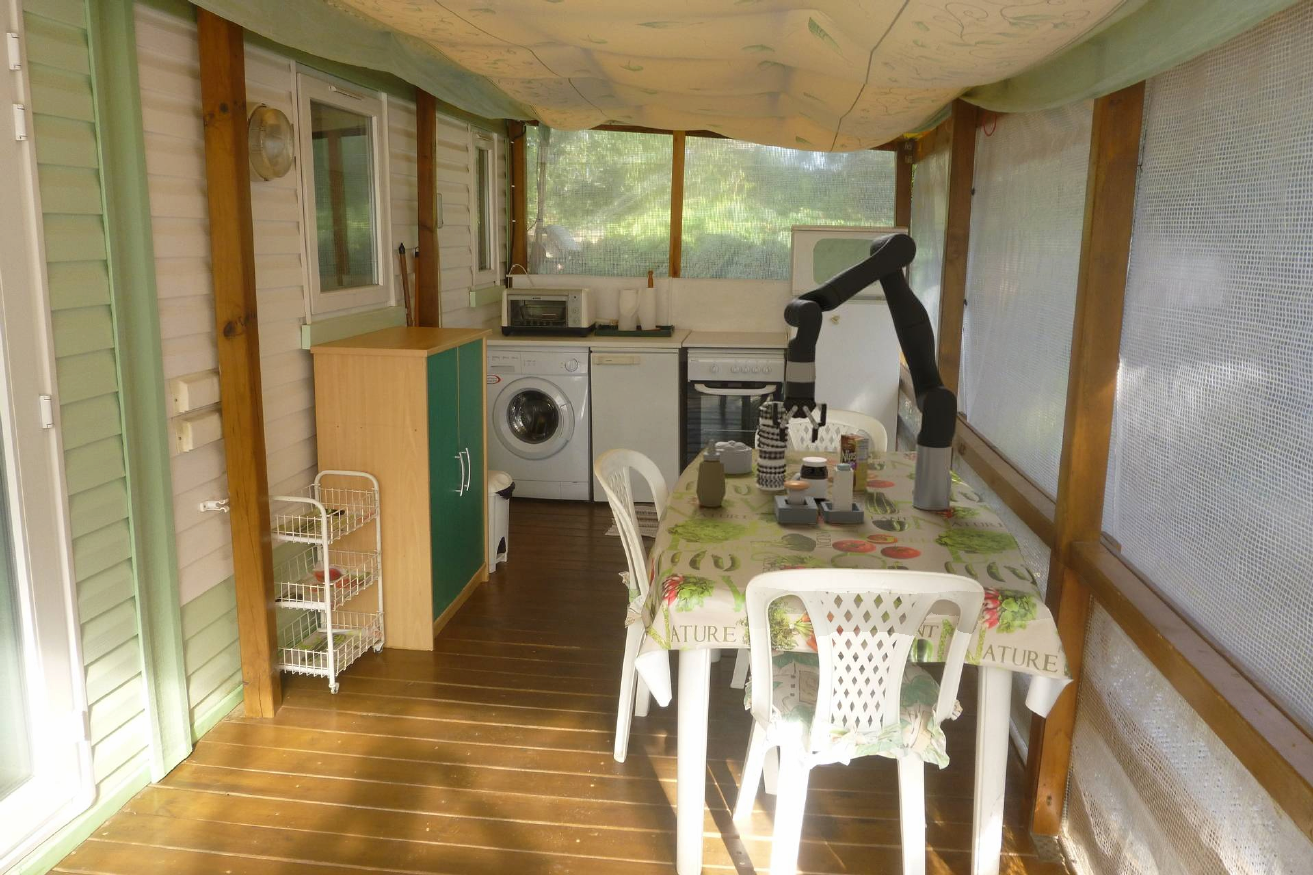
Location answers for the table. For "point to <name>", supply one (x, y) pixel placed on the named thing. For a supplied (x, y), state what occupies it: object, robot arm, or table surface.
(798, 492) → the tan mushroom peg
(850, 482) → the square rod with knob
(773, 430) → the decorative candle
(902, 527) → the table surface
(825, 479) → the spread jar
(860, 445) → the candy box
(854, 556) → the table surface
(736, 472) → the lumpy-topped squat cylinder
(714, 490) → the squeeze bottle
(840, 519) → the socket blocks
